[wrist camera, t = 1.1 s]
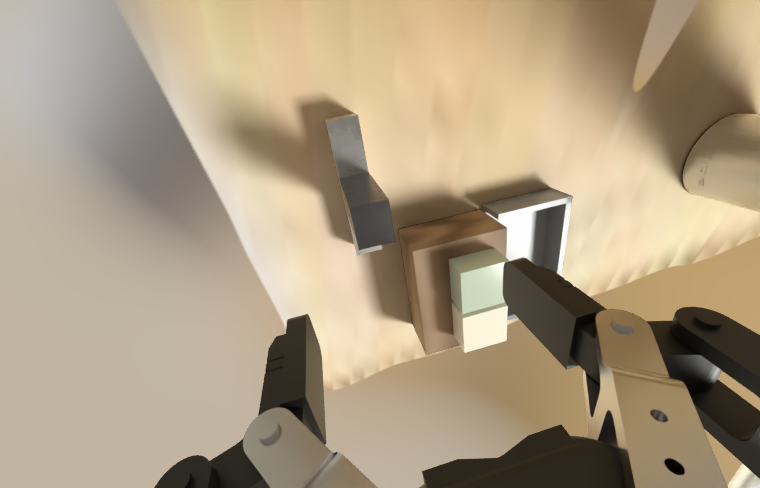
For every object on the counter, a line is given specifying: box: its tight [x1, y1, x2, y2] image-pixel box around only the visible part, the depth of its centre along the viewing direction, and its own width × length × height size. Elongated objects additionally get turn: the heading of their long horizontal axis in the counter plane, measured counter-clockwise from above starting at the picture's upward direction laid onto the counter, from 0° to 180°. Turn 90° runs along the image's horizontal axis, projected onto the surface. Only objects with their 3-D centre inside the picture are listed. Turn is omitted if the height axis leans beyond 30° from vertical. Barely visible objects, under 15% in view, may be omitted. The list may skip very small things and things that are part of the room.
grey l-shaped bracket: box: [325, 113, 395, 255], centre depth 24 cm, size 2×12×10 cm, turn 10°
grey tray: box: [483, 188, 573, 320], centre depth 34 cm, size 8×14×3 cm, turn 10°
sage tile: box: [449, 248, 510, 314], centre depth 28 cm, size 4×4×2 cm
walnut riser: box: [398, 210, 507, 355], centre depth 32 cm, size 9×13×5 cm
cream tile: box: [452, 302, 508, 352], centre depth 30 cm, size 4×4×2 cm
